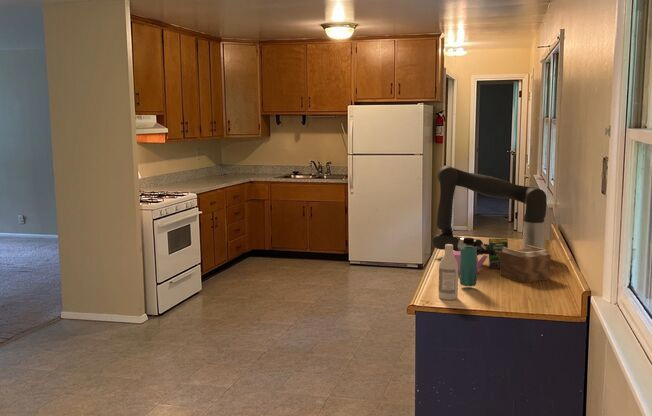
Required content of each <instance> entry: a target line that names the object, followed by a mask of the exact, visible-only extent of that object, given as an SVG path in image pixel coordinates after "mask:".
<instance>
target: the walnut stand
mask: <svg viewBox="0 0 652 416" xmlns="http://www.w3.org/2000/svg"><path fill="white" fill-rule="evenodd" d="M551 257H552V256H551V255H550V254H548V249H546V248H545V249H542V248H538V247H534V246H530V245H525V249H523V248H522V249H513V248H509V247H508V248H506V247H503V250H502V252H501V258H500V268H499V276H502V277H503V278H504V277H505V278H508V279H510V280H514V281H517V282H519V283H522V284H523V283H530V282H537V281H543V280H545V281H546V280H550V276H551V275H550V273H551V272H550V271H551Z"/></svg>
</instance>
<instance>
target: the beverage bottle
mask: <svg viewBox="0 0 652 416" xmlns="http://www.w3.org/2000/svg"><path fill="white" fill-rule="evenodd" d="M474 239H475V238H474V237H469V236H468V237H467V236H466V238H464V240H463V243H464V244H474ZM460 250H461V253H460V275H459V285H460V286H464V287H475V286H477V282H478V281H477V275H476V273H477V272H476V271H477V270H476V269H477V267H476V266H477V260H476V258H477V257H478V256H477V249H476V248H475V247H474V246H463V247H462V248H461V249H460Z"/></svg>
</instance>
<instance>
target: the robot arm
mask: <svg viewBox="0 0 652 416" xmlns="http://www.w3.org/2000/svg"><path fill="white" fill-rule="evenodd" d="M436 178H437V180H438V182H439V187H440V188H439V189H440V191H439V192H440V195H439V203H438V206H437V207H438V208H437V215H436V227H437V228H438V229H439V230H441V233H439V234H435V235H434V236H433V237H432V238H431V239H432V240H431V244H432V246H433V247H434V248H435V249H437V250H444V251H445V245H446V244H452V245H453V251H461V250H460V249H461V248H462V247H463V246H474V247H475V248H476V249H477V257H478V256H480V255H481V256H482V255H483V256H484V255H486V256H487V255H488V256H489V255H494V254H495V251H494V250H490V249H489V243H484V242H483V240H482V239H479V238H474V244H464V243H463V240H464V238H466V237H467V236H466V237H465V236H464V237H463V236H458V235H457V236H456V235H454V233H453V232H454V231H453V229H452V224H453V223H452V220H453V207H454V206H453V205H454V204H453V203H454V198H455V197H454V196H455V191H456V187H461V188H465V189H467V190H470V191H473V192H475V193H478V194H480V195H483V196H486V197H491V198H496V199H503V200H504V199H505V200H506V199H507V200H514V201H517V202H519V203H522V204H525V205H526V206H525V207H526V208H525V213H524V215H523V227H522V228H523V230H522V231H523V232H522V233H523V234H522V249H525V245H530V246H534V247H538V248H542V249H546V248H545V247H546V237H544V236H545V234H544V233H545V229H544V228H545V218H546V215H547V203H548V202H547V201H548V200H547V194H546V192H545V191H544V190H543V189H541V188H538V187H534V186H525V185H519V184H514V183H512V182H510V181H507V180H505V179H501V178H498V177H494V176H490V175H485V174H480V173H474V172H472V173H471V172H467V171H463V170H461V169H458V168H455V167H453V166H451V165H444V166H441V167H440V168H439V169H438V170H437V172H436Z"/></svg>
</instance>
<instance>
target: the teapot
mask: <svg viewBox="0 0 652 416" xmlns="http://www.w3.org/2000/svg"><path fill="white" fill-rule="evenodd" d="M460 253H461V251H454V250H453V255H454V257H455V259H456V260H457V263H458V276H460ZM487 258H488V255H487V254H486V255H485V254H483V256H482V257H481V258H480V259H479V257H478V256H477V258H476V260H477V266H476V267H477V269H476V270H477V271H476V272H477V273H476V276H478V275H479V269H481V268H482V266H483V264H484V262H485V261H486V259H487Z"/></svg>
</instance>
